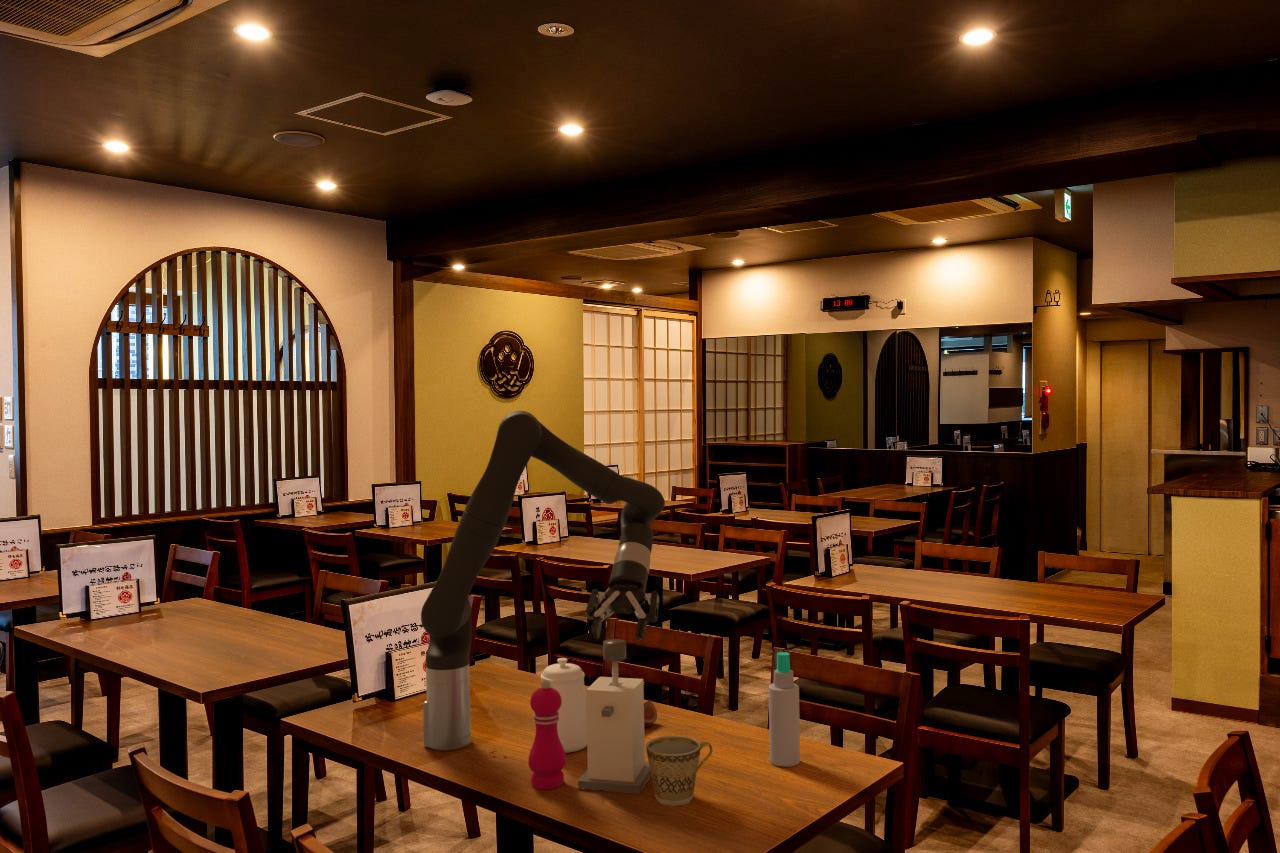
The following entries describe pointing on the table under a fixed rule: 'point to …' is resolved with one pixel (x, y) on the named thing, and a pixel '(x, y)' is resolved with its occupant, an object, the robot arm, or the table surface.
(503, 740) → the table surface
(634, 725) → the dispenser
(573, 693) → the coffeepot
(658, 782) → the ceramic cup
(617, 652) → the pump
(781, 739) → the spray bottle
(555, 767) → the pepper mill
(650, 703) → the fruit slice
